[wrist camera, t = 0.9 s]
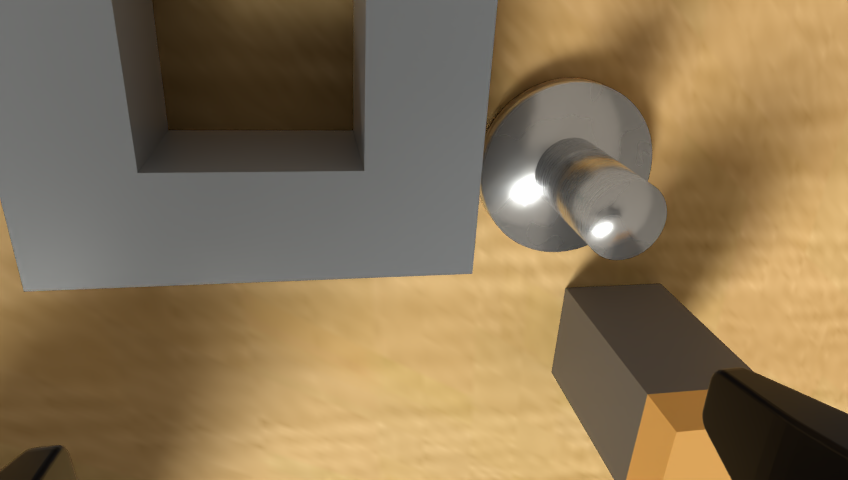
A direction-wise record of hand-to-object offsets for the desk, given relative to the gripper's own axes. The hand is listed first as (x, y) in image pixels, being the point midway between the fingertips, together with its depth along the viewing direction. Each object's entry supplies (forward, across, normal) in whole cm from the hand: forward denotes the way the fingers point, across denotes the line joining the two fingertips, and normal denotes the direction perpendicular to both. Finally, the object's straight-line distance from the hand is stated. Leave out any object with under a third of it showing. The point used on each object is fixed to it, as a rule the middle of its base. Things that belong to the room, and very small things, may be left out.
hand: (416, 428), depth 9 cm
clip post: (+13, -7, +1) cm, 15 cm away
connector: (+13, -10, +8) cm, 18 cm away
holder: (+13, +2, -4) cm, 14 cm away
